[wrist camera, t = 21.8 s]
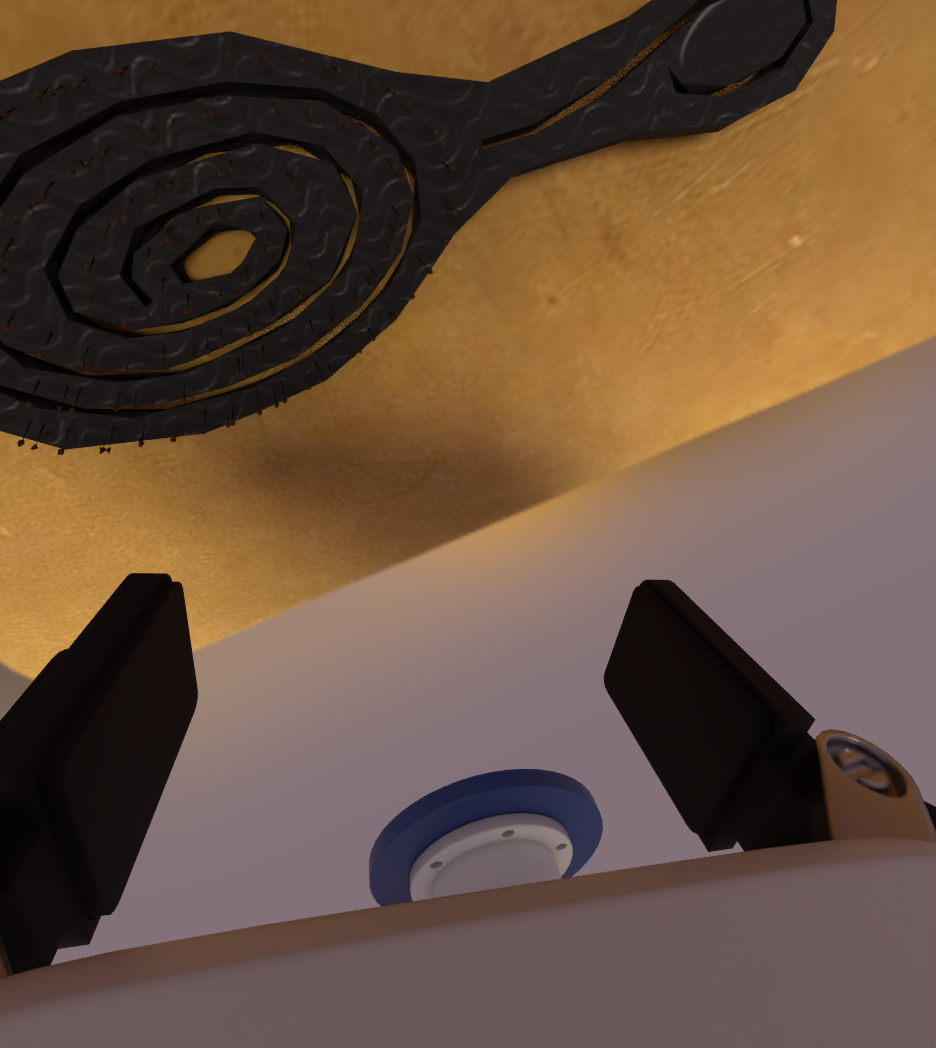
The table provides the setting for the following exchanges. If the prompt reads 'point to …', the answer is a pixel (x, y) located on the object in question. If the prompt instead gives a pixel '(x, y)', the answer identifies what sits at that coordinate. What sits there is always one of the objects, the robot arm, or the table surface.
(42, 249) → the hairbrush
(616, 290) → the table surface
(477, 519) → the table surface
